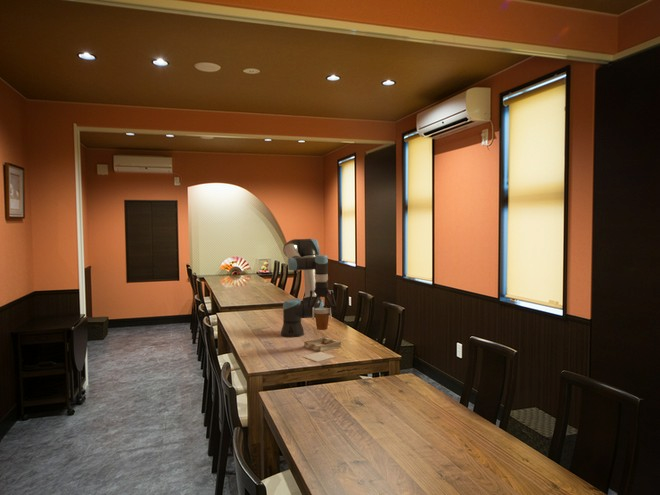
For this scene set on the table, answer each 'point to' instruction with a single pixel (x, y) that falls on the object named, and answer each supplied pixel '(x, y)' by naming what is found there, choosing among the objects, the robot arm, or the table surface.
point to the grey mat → (319, 356)
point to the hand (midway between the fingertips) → (322, 318)
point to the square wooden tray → (330, 345)
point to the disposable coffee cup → (322, 318)
